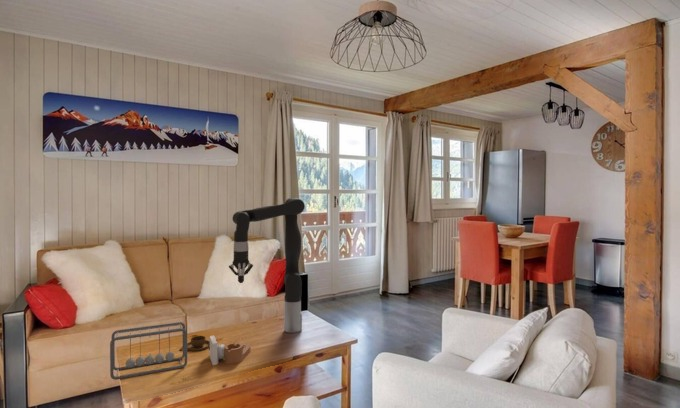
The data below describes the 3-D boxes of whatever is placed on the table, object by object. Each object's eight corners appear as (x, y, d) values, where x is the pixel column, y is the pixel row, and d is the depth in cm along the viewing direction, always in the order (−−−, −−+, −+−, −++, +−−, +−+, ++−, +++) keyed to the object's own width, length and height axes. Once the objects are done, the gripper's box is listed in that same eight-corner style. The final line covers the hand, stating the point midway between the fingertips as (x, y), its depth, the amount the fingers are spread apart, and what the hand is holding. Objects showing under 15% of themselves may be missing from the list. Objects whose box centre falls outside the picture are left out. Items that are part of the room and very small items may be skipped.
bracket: (238, 365, 181) (238, 350, 181) (221, 363, 182) (221, 348, 182) (253, 349, 199) (253, 335, 199) (237, 348, 200) (237, 334, 200)
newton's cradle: (185, 358, 187) (185, 321, 187) (187, 367, 178) (187, 328, 177) (111, 370, 174) (111, 330, 173) (110, 381, 164) (109, 338, 164)
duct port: (222, 354, 192) (222, 334, 191) (225, 363, 183) (225, 341, 182) (209, 356, 189) (209, 336, 189) (212, 365, 180) (212, 343, 180)
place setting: (217, 341, 209) (217, 330, 209) (215, 357, 190) (215, 345, 190) (181, 344, 205) (181, 333, 204) (176, 360, 185) (176, 348, 185)
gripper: (251, 248, 214) (251, 280, 214) (226, 249, 208) (226, 282, 209) (255, 250, 207) (255, 283, 208) (229, 251, 201) (229, 285, 202)
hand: (240, 282), depth 208 cm, fingers closed
